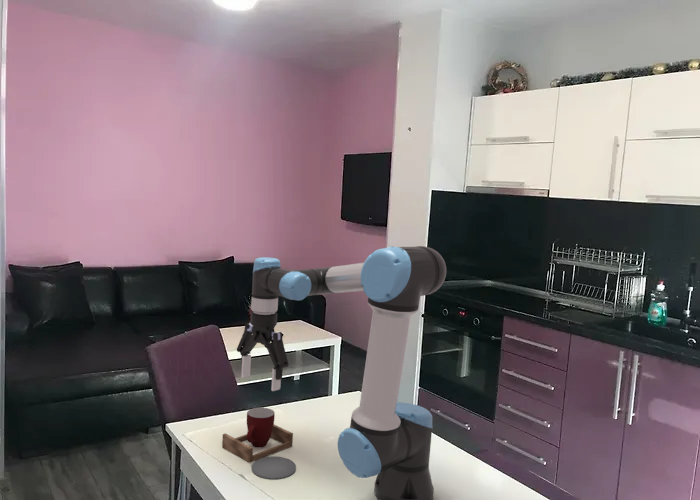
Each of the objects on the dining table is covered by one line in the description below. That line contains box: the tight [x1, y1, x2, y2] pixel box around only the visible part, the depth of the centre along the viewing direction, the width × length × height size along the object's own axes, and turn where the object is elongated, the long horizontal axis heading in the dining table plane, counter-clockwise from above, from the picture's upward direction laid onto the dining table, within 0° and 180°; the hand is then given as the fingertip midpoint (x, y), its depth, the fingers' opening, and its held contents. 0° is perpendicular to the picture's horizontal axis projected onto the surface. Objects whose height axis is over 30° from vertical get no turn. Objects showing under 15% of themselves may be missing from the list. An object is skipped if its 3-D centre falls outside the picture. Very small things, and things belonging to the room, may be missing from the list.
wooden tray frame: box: [221, 424, 294, 464], centre depth 168 cm, size 13×16×4 cm
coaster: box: [251, 455, 297, 481], centre depth 156 cm, size 12×12×1 cm
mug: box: [246, 407, 276, 449], centre depth 168 cm, size 11×8×10 cm
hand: (260, 383), depth 166 cm, fingers open, 13 cm apart
